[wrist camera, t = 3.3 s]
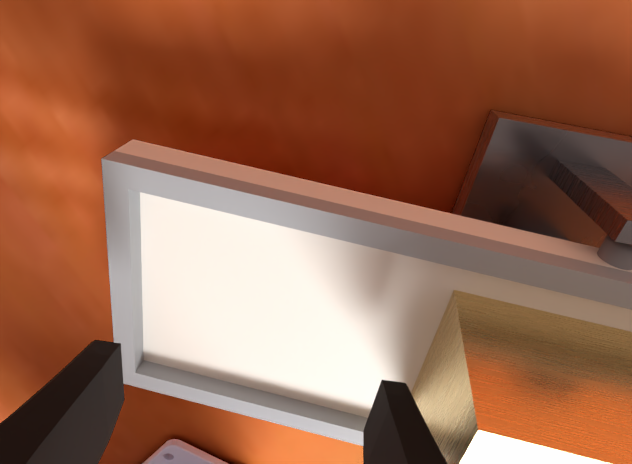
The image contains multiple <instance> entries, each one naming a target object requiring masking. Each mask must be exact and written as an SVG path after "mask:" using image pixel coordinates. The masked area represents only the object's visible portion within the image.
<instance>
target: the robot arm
mask: <svg viewBox="0 0 632 464" xmlns="http://www.w3.org/2000/svg"><path fill="white" fill-rule="evenodd" d="M123 402H124V385H123V370H122V354H121V343H114V342H106V341H99V340H95V341H93V342H91V343H90V344H89V345H88V346H87V347H86V348H85V349H84V350H83V351H82V352H81V353H80V354H78V355H77V356H76V357H75V358H74V359H73V360H72V361H71V362H70V363H69V364H68V365H67V366H66V367H65V368H63V369H62V370H61V371H60V372H59V373H58V374H57V375H56V376H55V377H54V378H53V379H51V380H50V381H49V382H48V383H47V384H46V385H45V386H44V387H43V388H41V389H40V390H39V391H38V392H37V393H36V394H34V395H33V396H32V397H31V398H30V399H29V400H28V401H26V402H25V403H24V404H23V405H22V406H21V407H19V408H18V409H17V410H16V411H15V412H14V413H12V414H11V415H10V416H9V417H8V418H6V419H5V420H4V421H3V422H1V423H0V464H98V463H99V461H100V459H101V457H102V455H103V452H104V450H105V448H106V446H107V444H108V442H109V440H110V437H111V435H112V432H113V429H114V427H115V424H116V421H117V419H118V416H119V413H120V410H121V407H122V405H123ZM363 456H364V464H448V463H447V461H446V460H445V458H444V456H443V454H442V453H441V451H440V449H439V447H438V445H437V443H436V442H435V440H434V438H433V436H432V434H431V432H430V430H429V428H428V426H427V424H426V422H425V420H424V418H423V416H422V414H421V412H420V410H419V408H418V406H417V404H416V402H415V400H414V398H413V396H412V394H411V392H410V390H409V387H408V386H407V384H406V383H403V382H396V381H388V380H381V383H380V386H379V389H378V391H377V394H376V397H375V400H374V403H373V405H372V408H371V411H370V414H369V416H368V419H367V422H366V425H365V427H364V430H363ZM142 464H228V463H226V462H224V461H222V460H220V459H218V458H216V457H214V456H212V455H210V454H208V453H206V452H204V451H202V450H200V449H197V448H195V447H193V446H191V445H189V444H187V443H185V442H183V441H181V440H178V439H171V440H168V441H167V442H166V443H165V444H163V445H162V446H161V447H160V448H159V449H158V450H157V451H156V452H155V453H154V454H152V455H151V456H150V457H149V458H148V459H147V460H146V461H145V462H144V463H142Z"/></svg>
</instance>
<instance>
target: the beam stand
mask: <svg viewBox="0 0 632 464" xmlns="http://www.w3.org/2000/svg"><path fill="white" fill-rule="evenodd" d="M452 214H455V215H460V216H464V217H468V218H473V219H477V220H481V221H485V222H490V223H494V224H498V225H503V226H507V227H511V228H515V229H520V230H524V231H528V232H533V233H537V234H541V235H545V236H550V237H554V238H558V239H563V240H567V241H571V242H575V243H580V244H584V245H588V246H593V247H597V248H600V246H601V245H602V243H603V241H604V240H605V238H606V236H607V235H608V236H609V237H610V238H611V239H612V240H613V241H615V242H619V243H625V244H631V245H632V137H631V136H626V135H620V134H615V133H610V132H604V131H599V130H594V129H589V128H583V127H578V126H573V125H568V124H562V123H557V122H552V121H547V120H541V119H536V118H531V117H526V116H520V115H515V114H510V113H505V112H499V111H494V110H491V111H490V113H489V116H488V119H487V121H486V124H485V127H484V129H483V132H482V135H481V137H480V140H479V142H478V145H477V148H476V150H475V153H474V156H473V158H472V161H471V164H470V166H469V169H468V171H467V174H466V177H465V179H464V182H463V185H462V187H461V190H460V193H459V195H458V198H457V200H456V203H455V206H454V208H453V211H452Z"/></svg>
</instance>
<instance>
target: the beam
mask: <svg viewBox="0 0 632 464" xmlns="http://www.w3.org/2000/svg"><path fill="white" fill-rule="evenodd" d="M101 161H102V175H103V190H104V205H105V220H106V235H107V249H108V264H109V279H110V294H111V309H112V323H113V338H114V343H121V354H122V370H123V384H127V385H131V386H135V387H138V388H142V389H146V390H150V391H154V392H158V393H161V394H165V395H169V396H173V397H177V398H181V399H184V400H188V401H192V402H196V403H200V404H204V405H207V406H211V407H215V408H219V409H223V410H227V411H230V412H234V413H238V414H242V415H246V416H250V417H253V418H257V419H261V420H265V421H269V422H273V423H276V424H280V425H284V426H288V427H292V428H296V429H300V430H303V431H307V432H311V433H315V434H319V435H323V436H326V437H330V438H334V439H338V440H342V441H346V442H349V443H353V444H357V445H361V446H363V430H364V427H365V425H366V422H367V419H368V416H369V414H370V411H371V408H372V405H373V403H374V400H375V397H376V394H377V391H378V389H379V386H380V383H381V380H388V381H396V382H403V383H406V384H407V386H408V387H409V390H410V392H411V391H412V389H413V387H414V384H415V382H416V379H417V377H418V375H419V372H420V370H421V367H422V365H423V363H424V360H425V358H426V355H427V353H428V351H429V348H430V346H431V343H432V341H433V339H434V336H435V334H436V331H437V329H438V327H439V324H440V322H441V319H442V317H443V315H444V312H445V310H446V307H447V305H448V303H449V300H450V298H451V295H452V293H453V291H454V290H457V291H461V292H466V293H470V294H474V295H478V296H482V297H487V298H491V299H495V300H499V301H504V302H508V303H512V304H516V305H520V306H525V307H529V308H533V309H537V310H542V311H546V312H550V313H554V314H559V315H563V316H567V317H571V318H575V319H580V320H584V321H588V322H592V323H597V324H601V325H605V326H609V327H613V328H618V329H622V330H626V331H630V332H632V245H631V244H625V243H619V242H615V241H613V240H612V239H611V238H610V237H609V236H608V235H607V236H606V238H605V240H604V241H603V243H602V245H601V246H600V248H597V247H593V246H588V245H584V244H580V243H575V242H571V241H567V240H563V239H558V238H554V237H550V236H545V235H541V234H537V233H533V232H528V231H524V230H520V229H515V228H511V227H507V226H503V225H498V224H494V223H490V222H485V221H481V220H477V219H473V218H468V217H464V216H460V215H455V214H451V213H447V212H443V211H438V210H434V209H430V208H426V207H421V206H417V205H413V204H408V203H404V202H400V201H396V200H391V199H387V198H383V197H378V196H374V195H370V194H366V193H361V192H357V191H353V190H348V189H344V188H340V187H336V186H331V185H327V184H323V183H318V182H314V181H310V180H306V179H301V178H297V177H293V176H288V175H284V174H280V173H276V172H271V171H267V170H263V169H258V168H254V167H250V166H246V165H241V164H237V163H233V162H228V161H224V160H220V159H216V158H211V157H207V156H203V155H199V154H194V153H190V152H186V151H181V150H177V149H173V148H169V147H164V146H160V145H156V144H151V143H147V142H143V141H139V140H134V139H133V140H131V141H129V142H128V143H126V144H124V145H123V146H121V147H119V148H118V149H116V150H115V151H113V152H111V153H110V154H108V155H106V156H105V157H103V158H101Z"/></svg>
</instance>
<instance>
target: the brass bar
mask: <svg viewBox="0 0 632 464" xmlns="http://www.w3.org/2000/svg"><path fill="white" fill-rule="evenodd" d="M411 394H412V396H413V398H414V400H415V402H416V404H417V406H418V408H419V410H420V412H421V414H422V416H423V418H424V420H425V422H426V424H427V426H428V428H429V430H430V432H431V434H432V436H433V438H434V440H435V442H436V443H437V445H438V447H439V449H440V451H441V453H442V454H443V456H444V458H445V460H446V461H447V463H448V464H632V332H630V331H626V330H622V329H618V328H613V327H609V326H605V325H601V324H597V323H592V322H588V321H584V320H580V319H575V318H571V317H567V316H563V315H559V314H554V313H550V312H546V311H542V310H537V309H533V308H529V307H525V306H520V305H516V304H512V303H508V302H504V301H499V300H495V299H491V298H487V297H482V296H478V295H474V294H470V293H466V292H461V291H457V290H454V291H453V293H452V295H451V298H450V300H449V303H448V305H447V307H446V310H445V312H444V315H443V317H442V319H441V322H440V324H439V327H438V329H437V331H436V334H435V336H434V339H433V341H432V343H431V346H430V348H429V351H428V353H427V355H426V358H425V360H424V363H423V365H422V367H421V370H420V372H419V375H418V377H417V379H416V382H415V384H414V387H413V389H412V391H411Z"/></svg>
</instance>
